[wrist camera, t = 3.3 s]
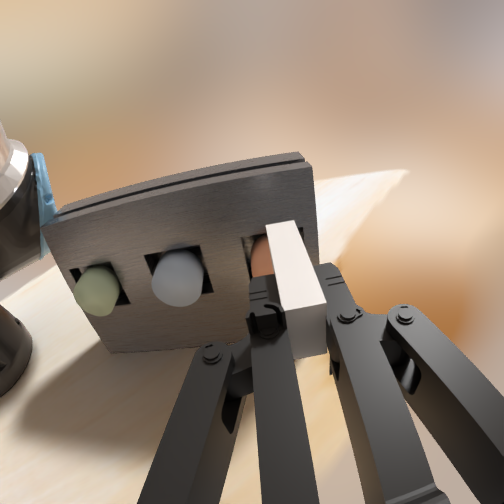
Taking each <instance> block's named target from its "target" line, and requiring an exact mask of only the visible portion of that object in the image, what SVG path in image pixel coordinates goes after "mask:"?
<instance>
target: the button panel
mask: <svg viewBox="0 0 504 504" xmlns="http://www.w3.org/2000/svg"><path fill="white" fill-rule="evenodd" d="M53 217H54V219H51V220H48V221H47V222H46V223H45V224H44V225H43V226H42V227H41V228H40V229H41V232H42V234H43V236H44V238H45V241H46V243H47V245H48V247H49V249H50V251H51V253H52V255H53V257H54V259H55V261H56V263H57V265H58V267H59V269H60V271H61V273H62V275H63V277H64V279H65V280H66V282H67V284H68V286H69V288H70V290H71V291H72V293H73V291H74V287H75V285H76V284H77V282H78V281H79V279H80V277H81V276H82V274H83V273H84V271H85V270H86V268H87V267H89V266H91V265H94V264H99V265H104V266H106V267H108V268H110V269H111V270H113V271H114V272H115V273H116V274H117V276H118V279H119V281H120V283H121V286H122V287H121V292H120V294H119V296H118V299H117V301H116V303H115V306H114V308H113V310H112V312H111V313H110V314H108V315H106V316H95V315H92V314H89V313H87V312H86V311H84V310H83V309H82V308H81V309H82V310H83V312H84V314H85V315H86V317H87V318H88V320H89V322H90V323H91V325H92V326H93V328H94V329H95V331H96V333H97V334H98V336H99V337H100V339H101V340H102V342H103V343H104V344H105V346H106V347H107V349H108V350H109V352H110V353H127V352H143V351H157V350H169V349H180V348H190V347H200V346H203V345H204V344H207V343H209V342H215V341H219V342H223V343H232V342H239V341H240V340H242V339H243V338H245V337H246V336H247V335H248V333H249V330H248V326H247V323H246V319H245V317H246V313H247V312H248V310H249V309H250V300H249V286H248V285H249V283H250V281H251V280H252V278H253V276H252V267H251V256H250V252H251V248H252V245H253V244H254V242H255V241H256V240H257V239H258V238H259V237H261V236H262V235H264V234H266V233H267V231H266V226H265V225H269V224H274V223H280V222H286V221H292V220H294V221H295V224H296V226H297V229H298V231H299V234H300V236H301V238H302V241H303V243H304V246H305V248H306V251H307V253H308V256H309V258H310V261H311V263H312V266H314V265H319V246H318V230H317V216H316V203H315V192H314V181H313V170H312V166H311V165H310V164H309V163H308V162H305V159H304V157H303V156H302V155H301V154H300V153H299V152H291V153H285V154H278V155H272V156H265V157H259V158H253V159H247V160H241V161H236V162H231V163H225V164H220V165H215V166H210V167H206V168H201V169H196V170H191V171H187V172H182V173H178V174H174V175H170V176H165V177H161V178H157V179H153V180H149V181H145V182H141V183H138V184H134V185H130V186H126V187H123V188H119V189H116V190H113V191H109V192H105V193H102V194H99V195H95V196H92V197H89V198H86V199H82V200H79V201H76V202H73V203H70V204H67V205H64V206H63V207H62V208H61V209H60V210H59V211H58V212H57V213H55V214H54V215H53ZM173 249H184V250H187V251H190V252H192V253H194V254H195V255H196V256H197V257H198V258H199V259H200V260H201V262H202V264H203V267H204V275H203V283H202V291H201V295H200V297H199V298H198V300H197V301H196V302H194V303H193V304H191V305H188V306H184V307H176V306H171V305H168V304H166V303H164V302H162V301H161V300H160V299H158V298H157V296H156V295H155V294H154V292H153V290H152V285H151V283H152V278H153V275H154V272H155V270H156V267H157V264H158V262H159V259H160V258H161V256H162V255H163V254H164V253H166V252H167V251H170V250H173ZM73 295H74V294H73Z"/></svg>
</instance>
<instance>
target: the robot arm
mask: <svg viewBox="0 0 504 504" xmlns="http://www.w3.org/2000/svg"><path fill="white" fill-rule="evenodd" d="M55 213H57V209H56V206H55V202H54V198H53V194H52V190H51V186H50V182H49V177H48V173H47V169H46V164H45V160H44V156H43V154H42V153H36V154H35V153H33V154H31V155H30V156H29V154H28V152H27V149H26V148H25V146H24V145H23V144H22V143H21V142H19V141H17V140H13V139H7V137H6V134H5V132H4V129H3V126H2V124H1V121H0V281H2V280H4V279H6V278H7V277H9V276H11V275H13V274H14V273H16V272H18V271H20V270H21V269H23V268H25V267H27V266H29V265H30V264H32V263H34V262H36V261H38V260H41V259H43V257H44V256H45V255H46V254H48V253H50V252H51V251H50V249H49V247H48V245H47V243H46V241H45V238H44V236H43V234H42V232H41V229H40V228H41V227H42V226H43V225H44V224H45V223H46V222H47V221H48V220H51V219H54V217H53V215H54V214H55ZM265 226H266V231H267V237H268V243H269V249H270V255H271V261H272V267H273V272H274V274H269V275H264V276H258V277H253V278H252V280H251V281H250V283H249V285H248V286H249V300H250V309H249V310H248V312H247V313H246V317H245V319H246V323H247V326H248V330H249V333H248V335H247V336H246V337H245V338H243V339H242V340H240V341H239V342H237V343H234V344H232V345H229V346H228V345H227V344H225V343H223V342H219V341H215V342H209V343H207V344H204V345H203V346H201V347H200V348H199V349H198V350H197V352H196V353H195V355H194V358H193V360H192V363H191V365H190V368H189V370H188V373H187V375H186V378H185V380H184V383H183V385H182V388H181V390H180V393H179V395H178V398H177V401H176V403H175V406H174V408H173V411H172V413H171V416H170V418H169V421H168V423H167V426H166V429H165V431H164V434H163V436H162V439H161V442H160V444H159V447H158V449H157V452H156V454H155V457H154V460H153V462H152V465H151V468H150V470H149V473H148V475H147V478H146V481H145V483H144V486H143V489H142V491H141V494H140V497H139V499H138V502H137V504H219V502H220V498H221V494H222V491H223V487H224V483H225V479H226V475H227V472H228V468H229V464H230V460H231V456H232V452H233V448H234V444H235V440H236V436H237V432H238V428H239V424H240V420H241V416H242V412H243V408H244V404H245V400H246V395H247V394H250V393H252V392H254V402H255V416H256V430H257V443H258V456H259V469H260V482H261V495H262V504H319V498H318V491H317V485H316V480H315V474H314V468H313V462H312V456H311V451H310V445H309V440H308V434H307V428H306V423H305V417H304V412H303V407H302V401H301V396H300V391H299V385H298V380H297V375H296V370H295V365H294V360H295V359H301V358H306V357H311V356H316V355H321V354H326V353H327V347H328V350H329V354H330V375H332V373H333V376H334V380H335V384H336V387H337V391H338V394H339V398H340V402H341V406H342V409H343V413H344V417H345V421H346V424H347V428H348V432H349V436H350V440H351V444H352V448H353V452H354V456H355V460H356V464H357V468H358V473H359V477H360V481H361V486H362V490H363V495H364V499H365V504H450V501H449V499H448V497H447V496H446V494H445V493H444V492H442V491H441V490H439V489H438V488H437V487H436V485H435V482H434V479H433V476H432V473H431V470H430V467H429V464H428V461H427V458H426V455H425V452H424V449H423V447H422V444H421V441H420V438H419V436H418V433H417V430H416V428H415V426H414V422H413V420H412V417H411V414H410V412H409V410H408V407H407V404H406V402H405V400H406V401H407V403H408V404H409V405H410V407H411V408H412V409H413V411H414V412H415V413H416V414H417V416H418V417H419V419H420V420H421V421H422V423H423V424H424V425H425V427H426V428H427V429H428V431H429V432H430V434H432V436H433V438H434V439H435V440H436V442H437V443H438V445H439V446H440V447H441V449H442V450H443V452H444V453H445V454H446V456H447V457H448V458H449V460H450V461H451V463H452V464H453V465H454V467H455V468H456V470H457V471H458V473H459V474H460V475H461V477H462V478H463V480H464V481H465V483H466V484H467V486H468V487H469V488H470V490H471V491H472V493H473V494H474V495H475V497H476V498H477V500H478V501H479V502H480V503H481V504H504V397H503V396H502V395H501V394H500V392H499V391H498V390H497V389H496V388H495V387H494V386H493V385H492V384H491V382H490V381H489V380H488V379H487V378H486V377H485V376H484V375H483V374H482V373H481V372H480V371H479V370H478V368H477V367H476V366H475V365H474V364H473V363H472V362H471V361H470V360H469V359H468V358H467V357H466V356H465V355H464V354H463V353H462V352H461V351H460V350H459V349H458V348H457V347H456V346H455V345H454V344H453V343H452V342H451V341H450V340H449V339H448V338H447V337H446V336H445V335H444V334H443V333H442V332H441V331H440V330H439V329H438V328H437V327H436V326H435V325H434V324H433V323H432V322H431V321H430V320H429V319H428V318H427V317H426V316H425V315H424V314H423V313H422V312H421V311H420V310H418V309H417V308H416V307H414V306H412V305H408V304H399V305H396V306H394V307H392V308H391V309H390V311H389V312H388V315H384V314H381V315H380V314H379V315H378V314H370V313H366V312H365V311H364V310H363V308H361V307H360V306H358V305H356V304H355V301H354V299H353V297H352V295H351V293H350V291H349V289H348V287H347V285H346V283H345V281H344V279H343V277H342V275H341V273H340V271H339V269H338V268H337V267H336V266H335V265H333V264H332V263H325V264H320V265H314V266H312V263H311V261H310V258H309V256H308V253H307V251H306V248H305V246H304V243H303V241H302V238H301V236H300V234H299V231H298V229H297V226H296V224H295V221H294V220H292V221H286V222H280V223H274V224H269V225H265ZM31 351H32V337H31V335H30V333H29V332H28V330H27V329H26V328H25V326H24V325H23V323H22V322H21V321H20V320H18V319H17V318H15V317H14V316H13V315H12V314H11V313H10V312H8V311H7V310H6V309H5V308H4V307H2V306H1V305H0V396H2V395H3V394H4V393H6V392H7V391H8V390H9V389H10V388H11V387H12V386H13V385H14V383H15V382H16V381H17V380H18V378H19V377H20V376H21V374H22V372H23V371H24V369H25V367H26V365H27V363H28V361H29V358H30V355H31Z"/></svg>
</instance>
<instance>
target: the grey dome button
mask: <svg viewBox="0 0 504 504" xmlns="http://www.w3.org/2000/svg"><path fill="white" fill-rule="evenodd" d="M203 275H204V267H203V264H202V262H201V260H200V259H199V258H198V257H197V256H196V255H195V254H194V253H192V252H190V251H187V250H184V249H173V250H170V251H167V252H166V253H164V254H163V255H162V256H161V258H160V259H159V262H158V264H157V267H156V270H155V272H154V275H153V278H152V283H151V285H152V290H153V292H154V294H155V295H156V296H157V298H158V299H160V300H161V301H162V302H164V303H166V304H168V305H171V306H176V307H184V306H188V305H191V304H193V303H194V302H196V301H197V300H198V298H199V297H200V295H201V291H202V283H203Z"/></svg>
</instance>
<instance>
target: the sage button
mask: <svg viewBox="0 0 504 504" xmlns="http://www.w3.org/2000/svg"><path fill="white" fill-rule="evenodd" d="M121 287H122V286H121V283H120V281H119V279H118V276H117V274H116V273H115V272H114V271H113V270H111V269H110V268H108V267H106V266H104V265H99V264H94V265H91V266H89V267H87V268H86V270H85V271H84V273H83V274H82V276H81V277H80V279H79V281H78V282H77V284H76V285H75V287H74V291H73V294H74V298H75V300H76V302H77V304H78V305H79V306H80V307H81V308H82V309H83V310H84V311H86V312H87V313H89V314H92V315H95V316H106V315H108V314H110V313H111V312H112V310H113V308H114V306H115V303H116V301H117V299H118V296H119V294H120V292H121Z"/></svg>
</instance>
